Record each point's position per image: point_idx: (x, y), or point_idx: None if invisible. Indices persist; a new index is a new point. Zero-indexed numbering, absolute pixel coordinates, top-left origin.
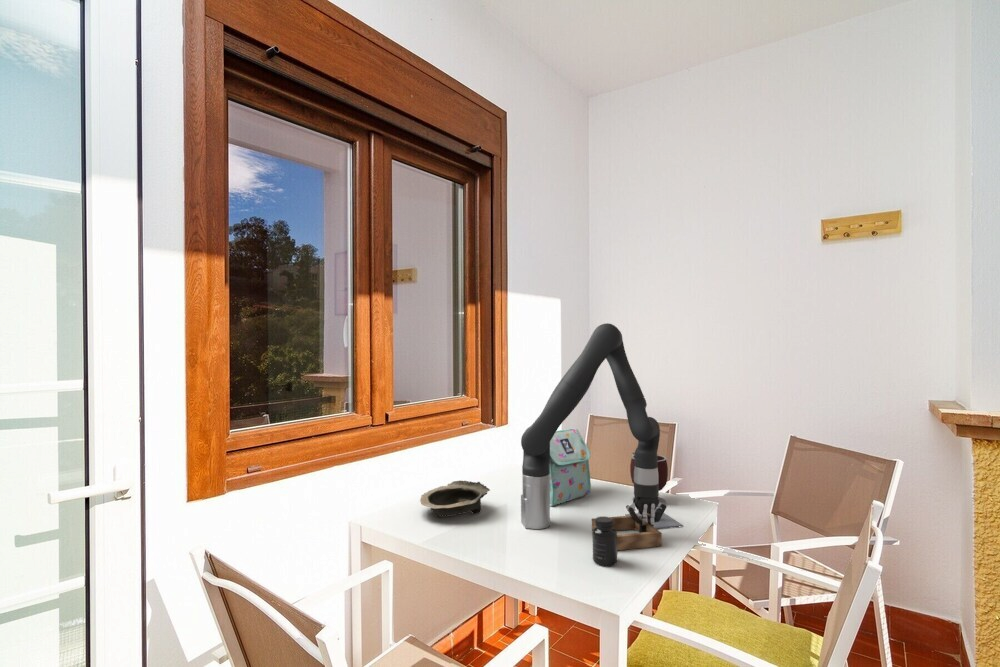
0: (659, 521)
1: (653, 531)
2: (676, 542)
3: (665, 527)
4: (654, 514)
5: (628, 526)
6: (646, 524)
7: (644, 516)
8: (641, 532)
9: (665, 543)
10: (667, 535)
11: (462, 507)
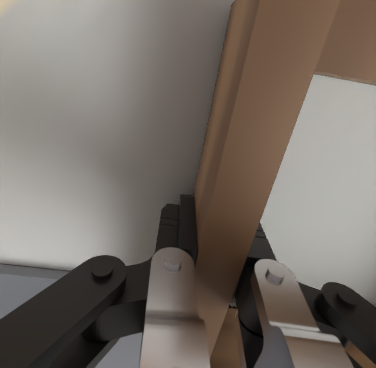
0: None
1: (332, 69)
2: (45, 35)
3: (10, 270)
4: (148, 355)
5: None
6: (230, 266)
7: (325, 350)
8: (260, 228)
9: (153, 56)
10: (53, 180)
11: None
